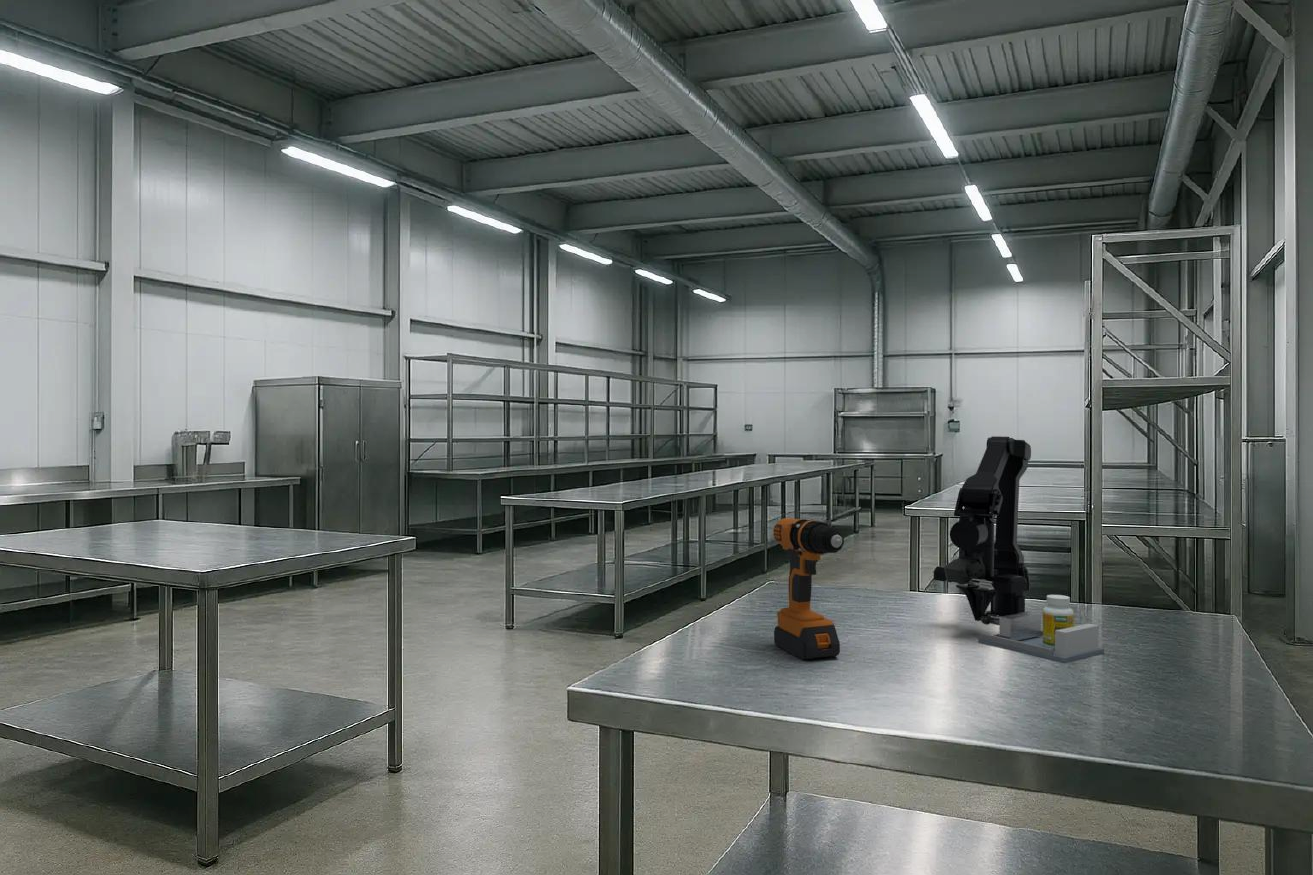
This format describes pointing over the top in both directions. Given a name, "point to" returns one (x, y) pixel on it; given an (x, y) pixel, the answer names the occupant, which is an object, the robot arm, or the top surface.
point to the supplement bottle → (1056, 618)
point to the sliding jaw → (1016, 625)
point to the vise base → (1067, 643)
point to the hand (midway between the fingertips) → (978, 620)
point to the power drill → (805, 589)
